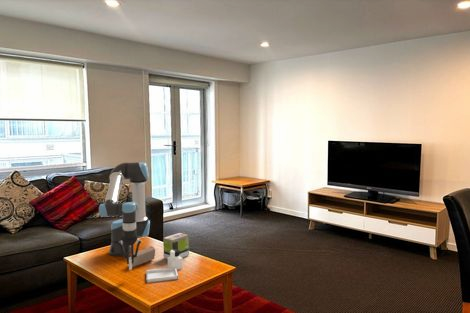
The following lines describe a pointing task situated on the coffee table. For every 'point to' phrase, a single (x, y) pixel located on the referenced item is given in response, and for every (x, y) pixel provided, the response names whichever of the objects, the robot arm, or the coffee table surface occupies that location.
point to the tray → (161, 274)
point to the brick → (144, 256)
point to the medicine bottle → (175, 259)
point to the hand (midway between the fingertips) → (130, 268)
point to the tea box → (176, 244)
